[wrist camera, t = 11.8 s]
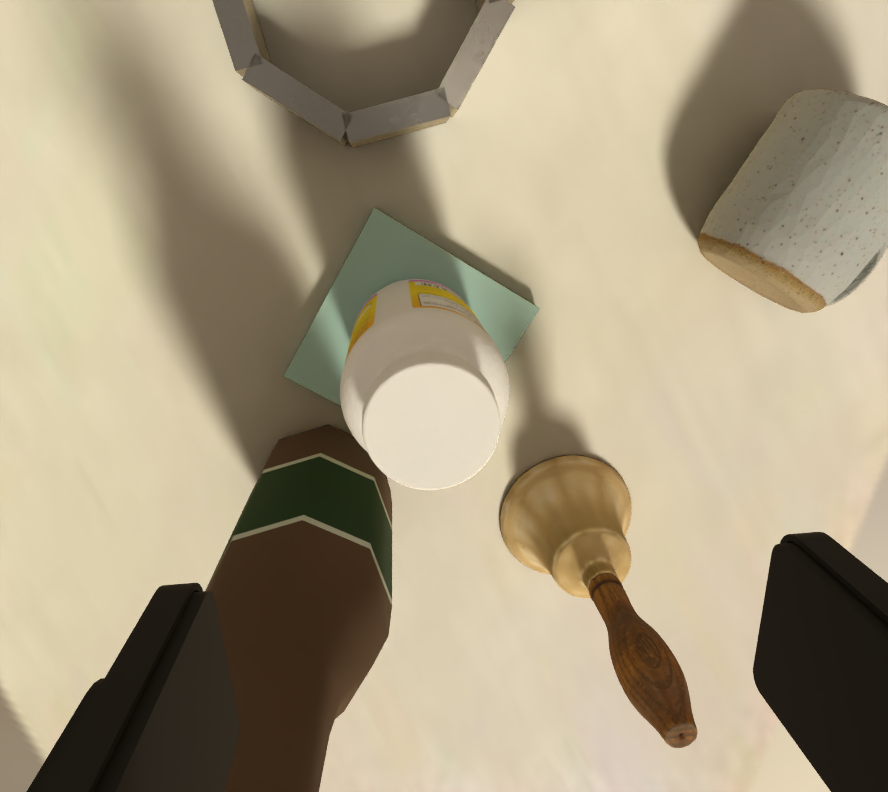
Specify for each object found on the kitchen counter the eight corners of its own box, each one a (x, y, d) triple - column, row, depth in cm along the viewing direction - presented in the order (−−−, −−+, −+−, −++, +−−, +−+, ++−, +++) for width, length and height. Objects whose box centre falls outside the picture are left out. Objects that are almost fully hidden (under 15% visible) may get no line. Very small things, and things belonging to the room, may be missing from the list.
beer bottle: (229, 475, 35) (-70, 1000, 12) (331, 393, 34) (207, 803, 11) (321, 562, 37) (211, 1137, 15) (418, 488, 36) (463, 985, 14)
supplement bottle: (377, 413, 33) (367, 540, 21) (334, 299, 31) (297, 369, 19) (492, 376, 33) (549, 483, 21) (458, 259, 31) (500, 304, 19)
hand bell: (656, 515, 38) (827, 726, 23) (555, 594, 40) (655, 843, 24) (576, 427, 36) (710, 599, 21) (472, 514, 37) (526, 736, 22)
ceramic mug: (662, 240, 33) (742, 256, 25) (757, 96, 31) (873, 70, 23) (803, 332, 35) (911, 371, 28) (898, 205, 33) (1042, 212, 26)
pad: (374, 207, 31) (374, 208, 30) (535, 305, 33) (539, 308, 32) (286, 371, 33) (283, 376, 32) (441, 451, 36) (443, 458, 35)
